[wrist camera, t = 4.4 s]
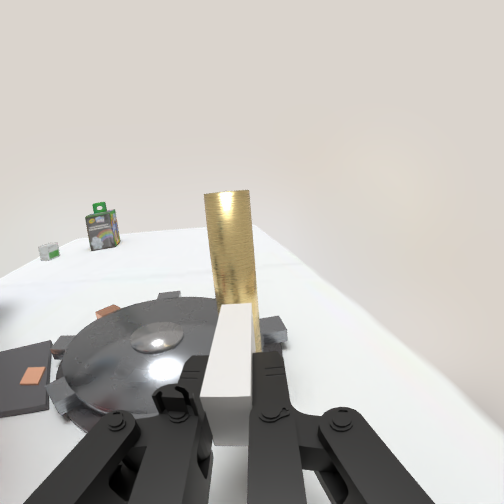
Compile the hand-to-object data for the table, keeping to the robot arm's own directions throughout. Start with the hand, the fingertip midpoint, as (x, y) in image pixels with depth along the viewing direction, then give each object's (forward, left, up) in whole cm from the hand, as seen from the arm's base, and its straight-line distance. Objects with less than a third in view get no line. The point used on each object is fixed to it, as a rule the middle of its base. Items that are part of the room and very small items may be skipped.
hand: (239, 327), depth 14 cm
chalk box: (-83, -1, -8) cm, 83 cm away
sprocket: (-11, -2, -7) cm, 13 cm away
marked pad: (-14, -20, -7) cm, 26 cm away
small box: (-85, -22, -8) cm, 88 cm away
